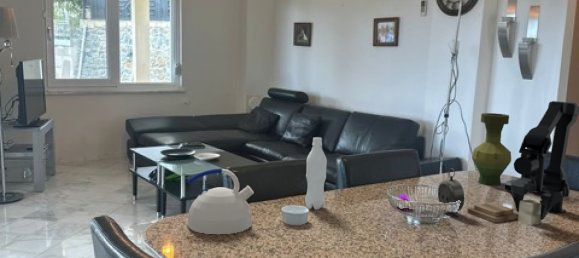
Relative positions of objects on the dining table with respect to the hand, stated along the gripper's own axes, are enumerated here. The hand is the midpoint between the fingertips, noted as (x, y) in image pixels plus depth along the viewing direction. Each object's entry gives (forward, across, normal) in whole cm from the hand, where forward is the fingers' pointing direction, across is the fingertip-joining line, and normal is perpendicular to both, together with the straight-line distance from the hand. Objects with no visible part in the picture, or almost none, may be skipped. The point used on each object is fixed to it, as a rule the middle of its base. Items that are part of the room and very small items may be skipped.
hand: (529, 215), depth 182 cm
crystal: (+2, -30, -30) cm, 42 cm away
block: (+2, 0, 0) cm, 2 cm away
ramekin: (+2, -31, -73) cm, 79 cm away
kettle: (+3, -38, -96) cm, 103 cm away
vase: (+2, -45, +31) cm, 55 cm away
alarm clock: (+2, -18, -19) cm, 26 cm away
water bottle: (+2, -42, -59) cm, 72 cm away
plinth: (+2, -10, -6) cm, 12 cm away
